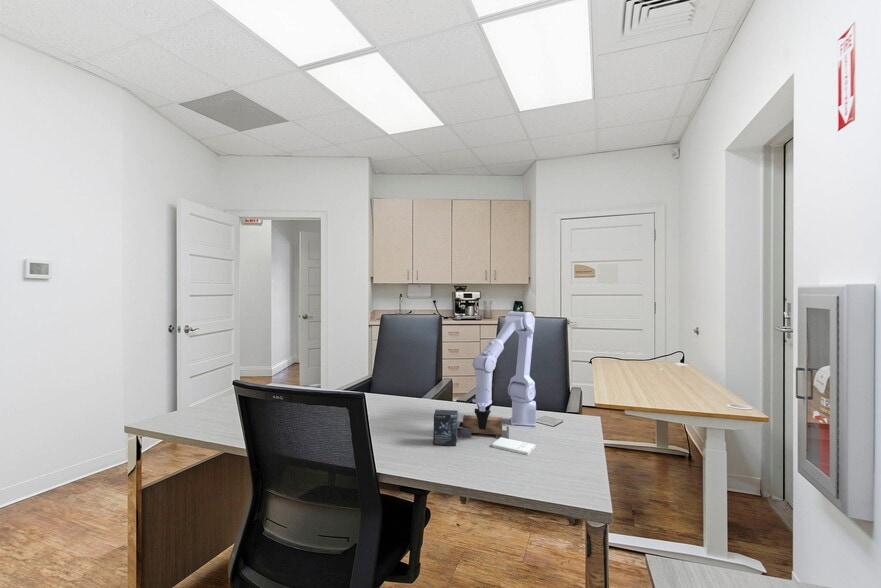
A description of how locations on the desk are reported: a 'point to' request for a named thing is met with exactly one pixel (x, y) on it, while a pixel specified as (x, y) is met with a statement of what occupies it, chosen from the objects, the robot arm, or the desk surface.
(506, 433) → the ledge bracket
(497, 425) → the wooden block
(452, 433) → the box
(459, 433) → the bracket
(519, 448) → the external hard drive
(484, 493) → the desk surface
